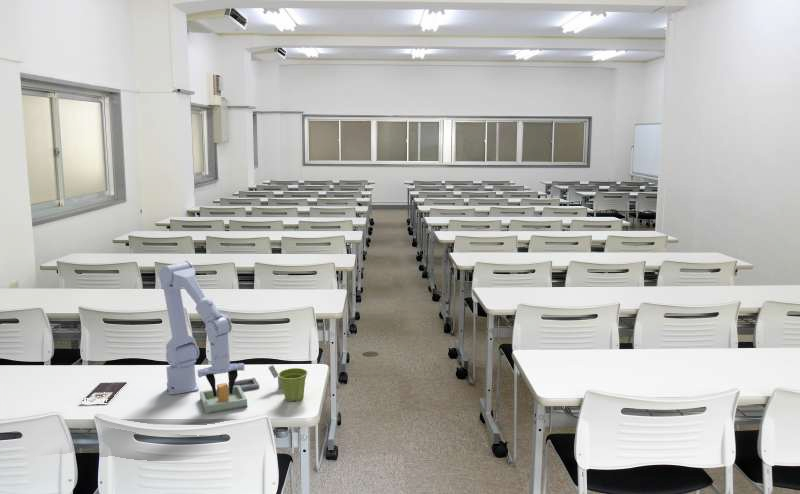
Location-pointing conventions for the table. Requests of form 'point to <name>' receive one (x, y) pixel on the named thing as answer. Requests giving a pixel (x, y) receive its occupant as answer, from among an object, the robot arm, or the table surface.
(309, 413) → the table surface
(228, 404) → the tray
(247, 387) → the frame
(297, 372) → the plant pot
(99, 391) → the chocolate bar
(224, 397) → the pin
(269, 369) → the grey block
